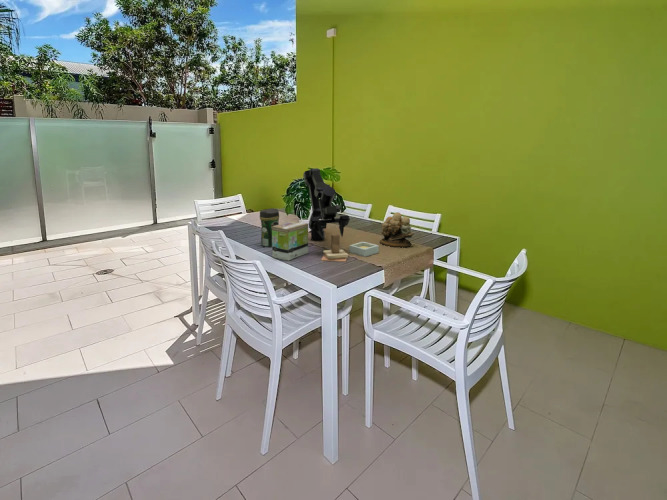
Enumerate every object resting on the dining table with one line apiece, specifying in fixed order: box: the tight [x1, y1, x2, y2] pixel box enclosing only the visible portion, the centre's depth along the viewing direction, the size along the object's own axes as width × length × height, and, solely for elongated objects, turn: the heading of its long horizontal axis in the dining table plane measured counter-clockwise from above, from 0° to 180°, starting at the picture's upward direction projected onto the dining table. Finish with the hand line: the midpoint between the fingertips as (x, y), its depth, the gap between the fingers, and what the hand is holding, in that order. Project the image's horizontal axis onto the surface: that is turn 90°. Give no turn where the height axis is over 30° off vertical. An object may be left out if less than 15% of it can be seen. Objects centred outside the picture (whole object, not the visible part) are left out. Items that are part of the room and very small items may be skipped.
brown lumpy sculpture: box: [379, 212, 415, 249], centre depth 191 cm, size 18×12×17 cm, turn 60°
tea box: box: [271, 220, 309, 262], centre depth 173 cm, size 15×10×15 cm
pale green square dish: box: [348, 241, 380, 258], centre depth 179 cm, size 10×10×4 cm
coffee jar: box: [259, 207, 280, 248], centre depth 189 cm, size 10×8×19 cm
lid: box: [322, 233, 349, 259], centre depth 170 cm, size 9×9×10 cm
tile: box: [320, 253, 350, 263], centre depth 172 cm, size 11×11×1 cm
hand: (332, 237), depth 173 cm, fingers open, 9 cm apart
